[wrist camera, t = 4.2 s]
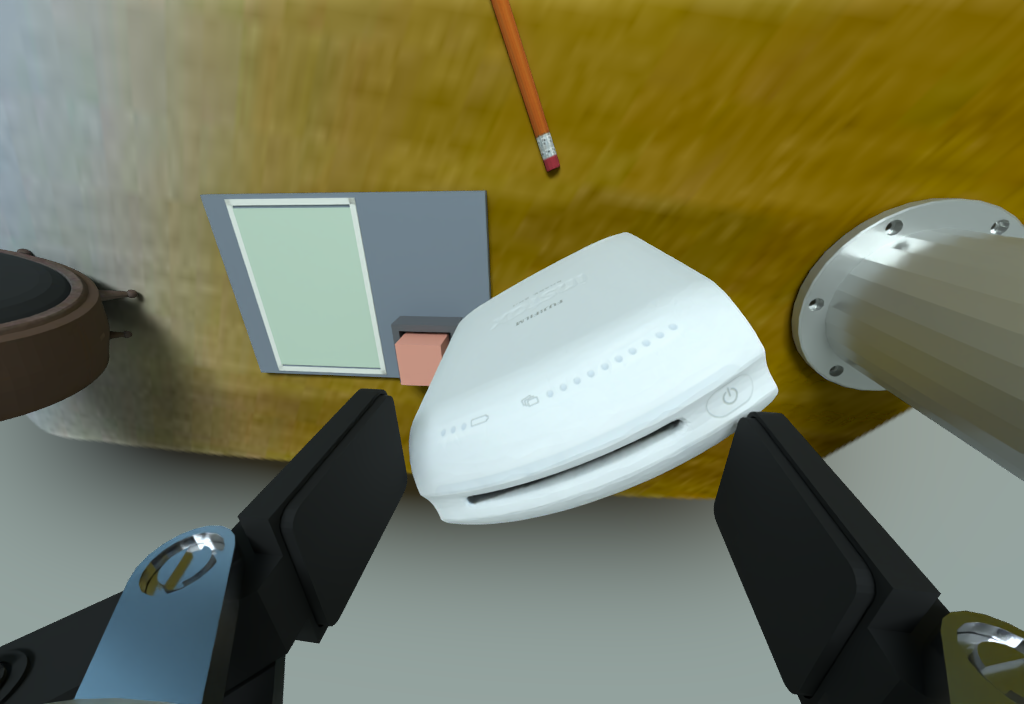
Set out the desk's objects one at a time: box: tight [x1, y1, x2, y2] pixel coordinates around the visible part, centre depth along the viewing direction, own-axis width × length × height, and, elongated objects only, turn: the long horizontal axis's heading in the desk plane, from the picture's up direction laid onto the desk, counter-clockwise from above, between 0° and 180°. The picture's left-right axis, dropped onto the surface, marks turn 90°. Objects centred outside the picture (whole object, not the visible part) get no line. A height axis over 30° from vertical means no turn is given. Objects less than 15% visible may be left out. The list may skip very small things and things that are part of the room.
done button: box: [395, 332, 450, 386], centre depth 27 cm, size 3×3×2 cm
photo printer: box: [409, 232, 778, 524], centre depth 14 cm, size 10×4×12 cm, turn 119°
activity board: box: [200, 191, 491, 382], centre depth 28 cm, size 20×14×2 cm
